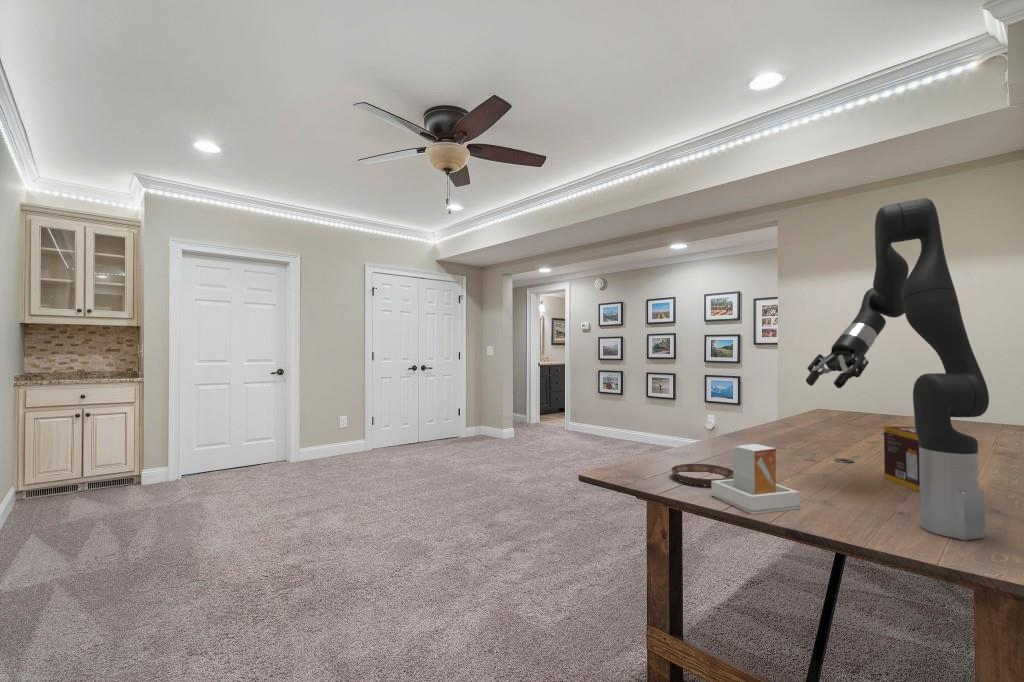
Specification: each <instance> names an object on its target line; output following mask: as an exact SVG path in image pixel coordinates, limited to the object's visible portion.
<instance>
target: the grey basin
mask: <svg viewBox="0 0 1024 682" xmlns="http://www.w3.org/2000/svg"><path fill="white" fill-rule="evenodd" d="M710 488H711V492H710V493H711V495H712V496H715V497H717V498H719V499H721V500H723V501H725V502H724V503H726V502H727V504H728V503H729V504H728V505H730V504H731V505H730V506H732V505H734V506H733V507H735V506H736V507H735V508H737V507H738V508H737V509H739V508H740V510H741V509H742V511H744V512H746V513H747V514H751V515H757V514H765V513H772V512H773V513H774V512H783V511H790V510H797V509H798V510H800V509H801V503H800V502H801V496H800V494H801V493H800V491H798V490H795V489H791V488H789V487H786V486H784V485H781V484H778V483H776V493H766V494H757V495H751V494H748V493H746V492H743V491H741V490H738V489H736V488H733V479H726V480H715V481H711V487H710ZM711 495H710V496H711ZM712 496H711V497H712ZM717 498H716V499H717ZM719 499H718V500H719ZM721 500H720V501H721ZM723 501H722V502H723Z"/></svg>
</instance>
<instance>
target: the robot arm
mask: <svg viewBox="0 0 1024 682" xmlns="http://www.w3.org/2000/svg"><path fill="white" fill-rule="evenodd" d="M874 220H875V221H874V242H875V243H874V248H875V250H874V251H875V252H874V253H875V271H874V277H873V282H872V288H869V289H867V291H866V292H865V293H864V295H863V297H862V301H861V305H860V309H859V311H858V313H857V315H856V317H854V319H853V320H852V321H851V323H850V324H849V325H848V326H847V327H846V328H845V329H844V330H843V332H842V333H841V334H840V336H839V337H838V339H836V341H835V342H834V343H833V344H832V346H831V349H830V350H831V351H830V353H829V354H828V355H827V356H823V355H822V354H821V353H820V354H817V356H816V357H815V358H814V359H813V360H812V362H811V363H810V364H809V365H808V366H807V368H806V369H807V370H808V371H809V375H808V376H807V377H806V379H805V381H806V383H807V385H808V386H809V387H810V386H811V387H812V386H813V385H815V383H816V382H817V381H818V380H819V378H820V376H822V375H824V374H826V375H827V374H829V373H830V372H840V373H839V375H838V376H837V377H836V379H835V380H834V382H833V385H834V386H835V387H836V388H837V389H841V388H843V387H844V386H845V384H846V383H847V382H848V381H849V380H850V379H852V378H853V377H855V378H860V377H861V375H862V374H863V372H864V371H865V369H866V368H867V366H868V364H869V363H870V362H869V360H868V358H867V357H866V356H865V355H866V354H867V353H868V352H869V349H871V347H872V346H873V344H874V343H875V340H876V339H877V337H879V334H880V333H881V332H882V330H883V329H884V328H885V327H886V323H887V321H886V320H887V319H885V317H888V318H899V317H902V316H903V315H905V318H906V320H907V322H908V324H909V325H910V327H911V328H912V329H913V330H914V331H915V332H916V333H917V334H918V335H919V336H920V338H922V339H923V340H924V341H925V342H926V343H927V344H928V345H930V347H931V348H932V349H933V350H934V351H935V352H936V354H937V356H938V357H939V358H940V361H941V364H942V366H943V369H944V373H942V372H941V373H934V372H933V373H924V374H921V375H919V376H918V377H917V379H916V380H915V382H914V384H913V389H912V403H913V404H912V405H913V414H914V415H913V416H914V426H915V429H916V433H917V436H918V439H919V477H920V492H919V518H920V519H919V521H920V522H919V526H920V527H921V529H924V530H925V531H928V532H929V533H933V534H936V535H939V536H944V537H947V538H954V539H958V540H961V541H971V540H977V539H983V538H984V537H985V538H986V500H985V498H986V495H985V491H984V490H983V489H979V488H980V487H979V486H980V483H979V479H980V478H979V477H980V476H979V442H978V440H977V439H976V438H975V437H974V436H971V435H967V434H964V433H961V432H960V431H957V430H956V429H955V428H954V427H953V424H952V419H951V418H976V417H977V418H978V417H981V416H982V415H984V414H985V413H986V411H987V410H988V408H989V403H990V395H989V390H988V385H987V383H986V380H985V378H984V376H983V372H982V370H981V367H980V365H979V363H978V361H977V358H976V356H975V354H974V351H973V349H972V346H971V342H970V339H969V336H968V334H967V331H966V326H965V324H964V319H963V316H962V313H961V307H960V304H959V303H960V302H959V299H958V295H957V292H956V289H955V286H954V282H953V279H952V276H951V272H950V269H949V266H948V263H947V258H946V254H945V250H944V249H945V248H944V244H943V238H942V237H943V236H942V232H941V226H940V225H941V224H940V219H939V214H938V211H937V207H936V206H935V203H934V202H933V200H932V199H930V198H927V197H926V198H925V197H923V198H919V199H918V198H917V199H911V200H907V201H900V202H897V203H891V204H887V205H884V206H882V207H880V208H879V209H878V211H877V213H876V215H875V219H874ZM913 240H919V241H920V244H921V245H920V246H921V249H920V253H919V256H918V259H917V261H916V263H915V265H914V267H913V269H912V270H911V271H910V273H909V270H910V269H909V264H908V262H907V261H906V259H905V257H903V256H902V255H901V254H900V253H899V252H897V250H895V249H894V247H893V246H892V243H894V244H895V243H900V242H907V241H908V242H909V241H913ZM884 316H885V317H884ZM825 365H826V367H827V368H826V367H825ZM985 538H984V539H985Z"/></svg>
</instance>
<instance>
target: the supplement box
mask: <svg viewBox="0 0 1024 682" xmlns="http://www.w3.org/2000/svg"><path fill="white" fill-rule="evenodd" d="M883 440H884V441H883V443H884V444H883V448H884V450H883V452H884V453H883V455H884V459H883V460H884V462H883V463H884V466H883V467H884V479H887V480H888V481H891V482H893V483H897V484H899V485H901V486H904V487H906V488H909V489H912V490H915V492H919V493H920V477H919V439H918V436H917V433H916V429H915V425H913V426H911V425H910V426H909V425H907V426H906V425H905V426H904V425H884V426H883Z"/></svg>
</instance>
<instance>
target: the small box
mask: <svg viewBox="0 0 1024 682" xmlns="http://www.w3.org/2000/svg"><path fill="white" fill-rule="evenodd" d="M732 451H733V453H732V455H733V456H732V457H733V458H732V459H733V461H732V462H733V463H732V465H733V469H732V470H733V488H736V489H738V490H741V491H743V492H746V493H748V494H751V495H757V494H766V493H776V484H777V474H776V473H777V472H776V471H777V469H776V467H777V466H776V464H777V459H776V457H777V456H776V454H777V452H776V447H771V446H769V445H767V446H766V445H762V444H758V443H752V444H751V443H750V444H742V445H737V446H736V445H735V446H733V447H732Z"/></svg>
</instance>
